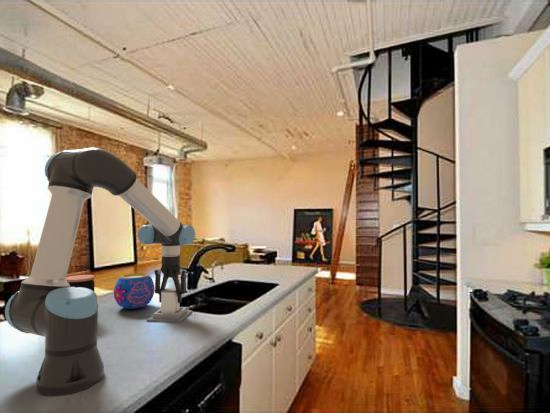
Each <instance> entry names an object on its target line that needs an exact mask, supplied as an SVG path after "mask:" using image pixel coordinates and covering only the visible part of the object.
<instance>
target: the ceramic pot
mask: <svg viewBox="0 0 550 413" xmlns="http://www.w3.org/2000/svg"><path fill="white" fill-rule="evenodd" d="M154 294H155V283H154V280H153V278H152V277H151V276H150V275H149V274H147V273H137V272H136V273H135V272H134V273H127V274H123V275H121V276H120V277H119V278H118V279H117V281H116V282H115V286H114V289H113V297H114V301H115V302H116V304H117V305H118V306H120V307H121V308H123V309H126V310H136V309H140V308H143V307H145V306H146V305H148V304H149V303H151V301H152V299H153V298H154Z"/></svg>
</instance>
